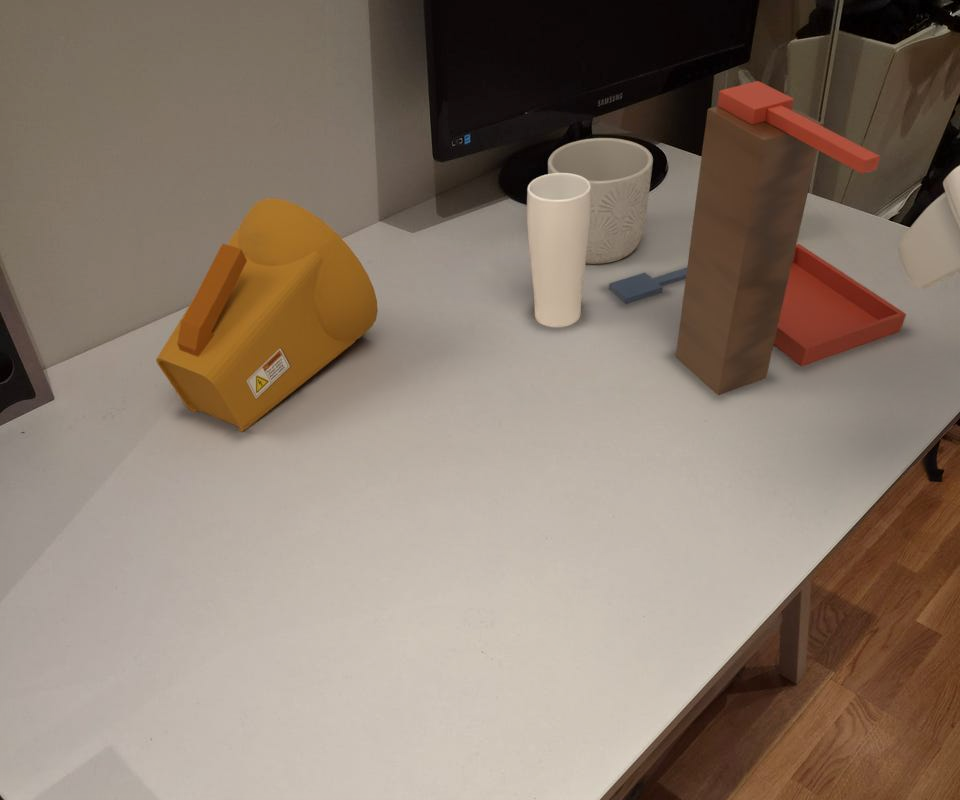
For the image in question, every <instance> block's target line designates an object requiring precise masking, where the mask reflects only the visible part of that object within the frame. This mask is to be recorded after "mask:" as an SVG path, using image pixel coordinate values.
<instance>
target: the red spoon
mask: <svg viewBox="0 0 960 800" xmlns="http://www.w3.org/2000/svg"><path fill="white" fill-rule="evenodd" d="M794 102H795V99H794V98H793V97H791V96H789V95H787V94H786V93H783V92H781V91H780V90H777V89H775V88H774V87H771V86H769V85H767V84H766V83H763V82H761V81H759V80H756V81H752V82H747V83H744V84H740V85H737V86H732V87H729V88H725V89H720V90H719V93H718V100H717V106H719V107H721V108H723V109H724V110H726V111H728V112H730V113H732V114H733V115H735V116H737V117H739V118H741V119H742V120H744V121H746V122H748V123H750V124H751V125H753V124H757V123H760V122H764V121H766V122H767V123H769V124H771V125H773V126H775V127H776V128H778V129H780V130H782V131H784V132H786V133H788V134H789V135H791V136H793V137H795V138H797V139H799V140H800V141H802V142H804V143H806V144H808V145H810V146H812V147H813V148H815V149H817V150H818V152H820V153H822V154H825V155H827V156H828V157H830V158H832V159H834V160H835V161H838V162H839V163H841V164H843V165H845V166H847V167H848V168H851V169H852V170H854V171H856V172H858V173H859V174H861V175H862V174H866V173H870V172H872V171H876V170H877V169H878V165H879V161H880V158H881V155H879V154H876V153H875V152H873V151H870V150H869V149H867V148H866V147H863V146H861V145H859V144H857V143H855V142H853V141H851V140H849V139H848V138H846V137H844V136H842V135H839V134H838V133H836V132H834V131H832V130H830V129H828V128H826V127H824V126H823V127H822V126H820V125H818V124H816V123H815V122H813V121H811V120H809V119H807V118H805V117H803V116H801V115H799V114H797V113H795V112H793V111H792V108H794V107H793V106H794Z"/></svg>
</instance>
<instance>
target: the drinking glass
mask: <svg viewBox="0 0 960 800" xmlns="http://www.w3.org/2000/svg"><path fill="white" fill-rule="evenodd" d="M590 220H591V184H590V182H589V181H588V180H587V179H586V178H584V177H582V176H579V175H576V174H571V173H552V174H548V173H547V174H544V175H540V176H538V177H536V178H534V179H532V180H531V181H530V182H529V184H528V185H527V189H526V227H527V228H526V229H527V240H528V249H529V260H530V269H531V279H532V288H533V299H534V317H535V320H536V321H537V322H538V323H539V324H540V325H543V326H544V327H549V328H564V327H565V328H566V327H568V326H571V325H574V324H576V323H577V322H578V321H579V319H580V318H581V314H582V298H583V297H582V296H583V290H584V289H583V287H584V279H585V273H586V265H587V264H586V256H587V248H588V240H589V232H590Z"/></svg>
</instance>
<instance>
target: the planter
mask: <svg viewBox="0 0 960 800" xmlns="http://www.w3.org/2000/svg"><path fill="white" fill-rule="evenodd" d="M547 159H548V160H547V174H552V173H571V174H576V175H579V176H582V177H584V178H586V179H587V180H588V181H589V182H590V184H591V220H590V232H589V240H588V248H587V256H586V264H585V265H603V264H610V263H614V262H617V261H620V260H623V259H624V258H625V257H628V256H629V255H630V254H632V253H633V252H634V251H635V250H636V248H637V247H638V245H639V243H640V242H641V239H642V237H643V233H644V229H645V225H646V218H647V212H648V205H649V196H650V190H651V189H650V188H651V178H652V171H653V163H654V158H653V155H652V152H650V150H649V149H648V148H646V147H645V146H643V145H642V144H639V143H637V142H634V141H631V140H626V139H621V138H615V137H614V138H613V137H594V138H586V139H580V140H576V141H572V142H569V143H566V144H563V145H562V146H560V147H558V148H556V149H555V150H554V151H552V153H551V154H550V156H549V157H548V158H547Z"/></svg>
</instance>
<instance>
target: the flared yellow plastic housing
mask: <svg viewBox="0 0 960 800" xmlns="http://www.w3.org/2000/svg"><path fill="white" fill-rule="evenodd" d="M350 247H351V246H349V245H348V244H347V242H345V241H344V239H343V238H342V237H341V236H340V235H339V234H338V233H337V232H336V231H335V230H334V229H332V227H330V226H329V225H328V223H326V222H325V221H323V220H322V219H320V218H319V217H318V216H317V215H315V214H314V213H313V212H311V211H310V210H307V209H305V208H304V207H302V206H300V205H298V204H296V203H293V202H291V201H288V200H286V199H283V198H282V199H281V198H275V197H270V198H263V199H261V200H259V201H257V202H255V203H254V205H253V206H252V207H251V208H250V209H249V210H248V211H247V214H245V216H244V218H243V220H242V221H241V223H240V225H239V228H237V229H236V230H235V231H234V232H233V234H232V236H231V238H230V239H229V241H228V243H227V244H225V243H222V244H221V246H220V248H219V250H218V251H217V254H216V255H215V257H214V259H213V261H212V262H211V265H210V267H209V269H208V270H207V272H206V275H205V276H204V278H203V281H202V282H201V284H200V286H199V287H198V290H197V292H196V294H195V295H194V297H193V299H192V300H191V302H190V304H189V306H188V307H187V309H186V310H185V312H184V313H183V316H182V317H181V319H180V320H179V322H177V325H176V326H175V327H174V330H173V332H172V333H171V334H170V336H169V338H168V340H167V341H166V343H165V344H164V346H163V348H162V349H161V351H160V352H159V354H158V355H157V357H156V359H155V361H156V364H157V366H158V367H159V368H160V370H161V372H162V373H163V374H164V376H165V377H166V379H167V380H168V382H169V383H170V385H171V386H172V388H173V389H174V390H175V392H176V393H177V395H178V397H179V398H180V399H181V401H182V403H183V404H184V405H185V407H187V409H189V411H191V412H193V413H196V412H197V411H199V412H202V413H205V414H207V415H209V416H211V417H214V418H216V419H219V420H222V421H224V422H226V423H229V424H231V425H233V426H236V427H238V428H239V429H238V432H241V433H243V432H244V431H246V430H247V429H249V428H250V427H251V426H253V425H254V424H255V423H256V422H258V420H260V419H261V418H262V417H264V416H265V415H266V414H267V413H269V412H270V411H271V410H272V409H273V408H275V407H276V406H277V405H278V404H280V403H282V401H284V400H285V399H286V398H287V397H288V396H290V395H291V394H292V393H294V392H295V391H296V390H297V389H298V388H300V387H301V386H302V385H304V383H306V382H307V381H308V380H309V379H311V378H312V377H313V376H314V375H315V374H317V373H318V372H319V371H321V370H322V369H323V368H324V367H326V366H327V365H328V364H329V363H331V362H332V361H333V360H335V359H336V358H338V356H339V355H341V354H342V353H343V352H345V350H347V349H349V347H351V346H352V345H353V344H354V343H355V342H356V341H357V340H359V339H360V338H361V337H363V335H365V334H366V333H367V332H368V331H369V330H370V329H371V328H373V325H374V324H375V322H376V321H377V316H378V311H379V310H378V299H377V296H376V292H375V288H374V286H373V283H372V281H371V278H370V276H369V274H368V272H367V271H366V269H365V267H364V266H363V264H362V262H361V261H360V259H359V258H358V257H357V255H356V254H355V253H354V251H353V250H352V249H351V248H350Z"/></svg>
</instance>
